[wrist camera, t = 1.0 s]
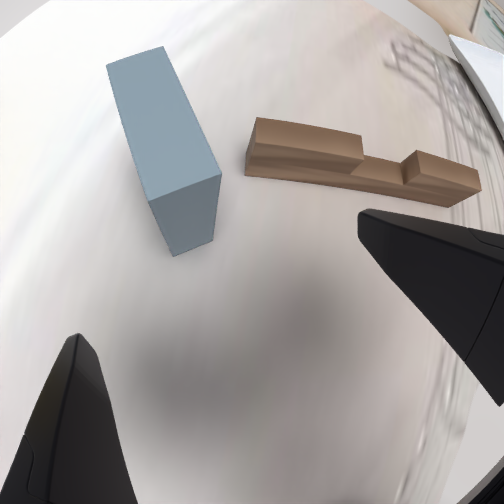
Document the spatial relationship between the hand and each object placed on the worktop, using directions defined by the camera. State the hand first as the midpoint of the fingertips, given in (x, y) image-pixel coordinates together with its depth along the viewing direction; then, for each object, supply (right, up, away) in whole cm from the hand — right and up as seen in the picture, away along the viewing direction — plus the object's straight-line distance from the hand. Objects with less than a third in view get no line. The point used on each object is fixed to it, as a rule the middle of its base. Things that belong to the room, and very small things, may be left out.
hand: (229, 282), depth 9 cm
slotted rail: (+10, +7, +17) cm, 21 cm away
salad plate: (+41, +25, +26) cm, 55 cm away
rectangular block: (-5, +5, +14) cm, 16 cm away
